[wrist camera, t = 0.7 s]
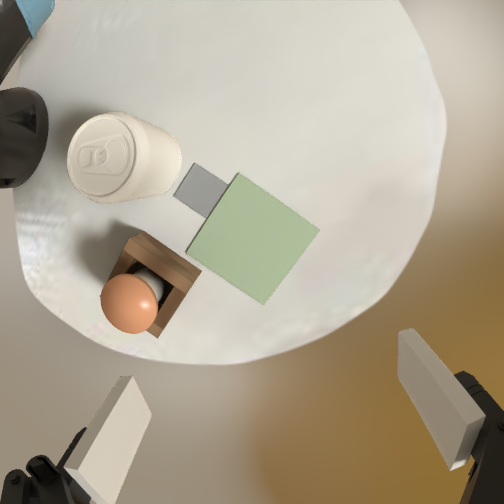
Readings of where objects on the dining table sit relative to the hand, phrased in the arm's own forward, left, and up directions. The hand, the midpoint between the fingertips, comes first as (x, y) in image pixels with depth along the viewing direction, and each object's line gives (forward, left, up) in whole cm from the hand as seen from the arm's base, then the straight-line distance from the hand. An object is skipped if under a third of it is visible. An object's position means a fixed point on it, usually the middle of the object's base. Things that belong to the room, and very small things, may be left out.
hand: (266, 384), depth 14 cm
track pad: (-11, +2, -23) cm, 25 cm away
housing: (-10, -10, -23) cm, 27 cm away
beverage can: (-18, +2, -23) cm, 29 cm away
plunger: (-10, -10, -20) cm, 24 cm away
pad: (-3, +1, -23) cm, 23 cm away
